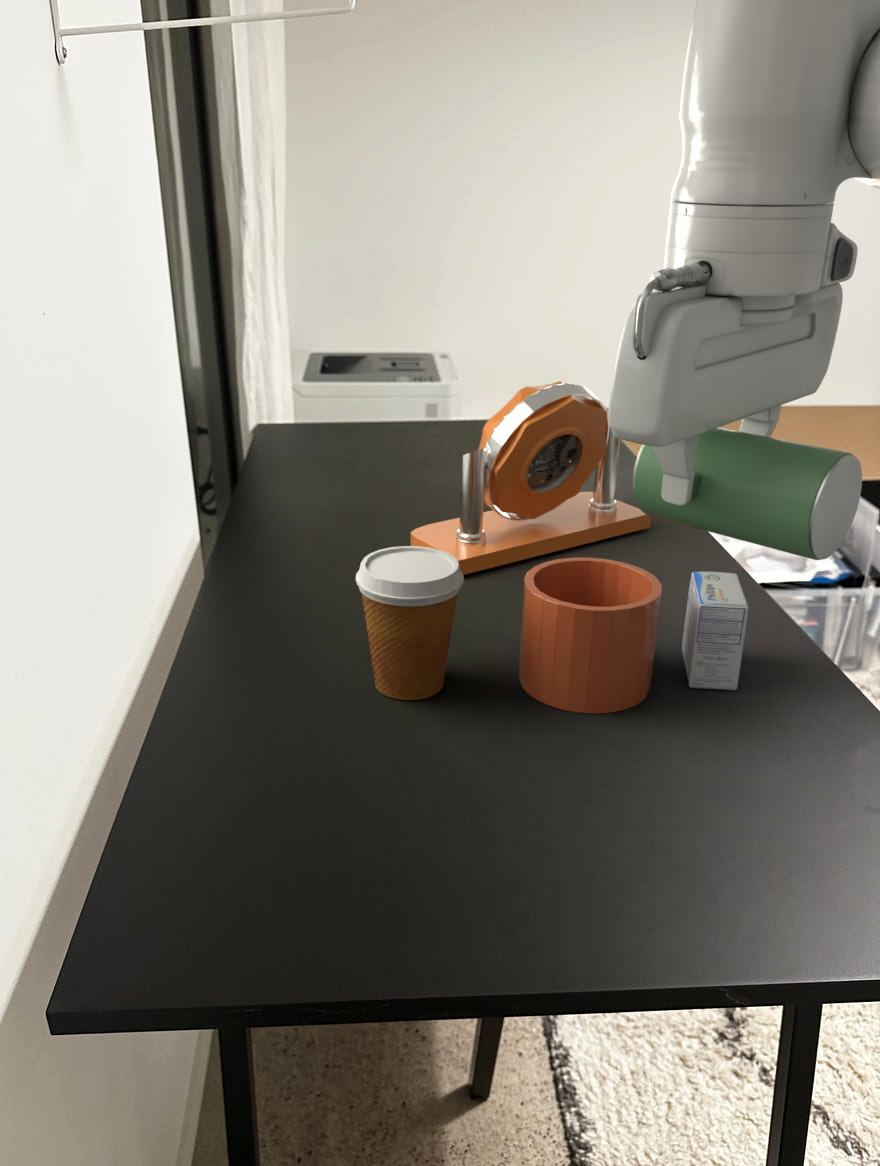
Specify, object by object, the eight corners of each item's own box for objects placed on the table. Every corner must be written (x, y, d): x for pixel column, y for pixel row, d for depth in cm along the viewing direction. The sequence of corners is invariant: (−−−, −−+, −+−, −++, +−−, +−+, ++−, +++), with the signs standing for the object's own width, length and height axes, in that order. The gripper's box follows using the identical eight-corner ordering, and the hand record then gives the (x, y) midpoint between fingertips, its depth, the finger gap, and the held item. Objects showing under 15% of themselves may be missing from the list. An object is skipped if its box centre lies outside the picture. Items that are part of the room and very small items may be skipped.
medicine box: (737, 692, 95) (751, 606, 91) (686, 689, 96) (699, 602, 92) (726, 654, 102) (739, 572, 98) (679, 650, 103) (690, 569, 99)
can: (852, 543, 64) (870, 442, 61) (804, 575, 60) (821, 468, 57) (681, 500, 72) (690, 408, 69) (628, 526, 68) (635, 430, 65)
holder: (675, 681, 97) (688, 582, 92) (598, 728, 89) (609, 622, 85) (571, 641, 104) (578, 547, 100) (492, 680, 97) (497, 581, 93)
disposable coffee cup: (337, 681, 97) (333, 561, 92) (414, 651, 102) (415, 536, 97) (402, 721, 90) (403, 594, 85) (482, 687, 96) (487, 566, 90)
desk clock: (652, 532, 133) (670, 372, 124) (460, 581, 118) (466, 405, 109) (587, 506, 142) (600, 355, 133) (402, 548, 127) (402, 383, 119)
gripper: (697, 277, 51) (666, 540, 57) (871, 246, 64) (831, 464, 70) (591, 267, 55) (573, 514, 61) (775, 240, 68) (745, 446, 74)
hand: (712, 487), depth 66 cm, fingers closed on can, 6 cm apart
